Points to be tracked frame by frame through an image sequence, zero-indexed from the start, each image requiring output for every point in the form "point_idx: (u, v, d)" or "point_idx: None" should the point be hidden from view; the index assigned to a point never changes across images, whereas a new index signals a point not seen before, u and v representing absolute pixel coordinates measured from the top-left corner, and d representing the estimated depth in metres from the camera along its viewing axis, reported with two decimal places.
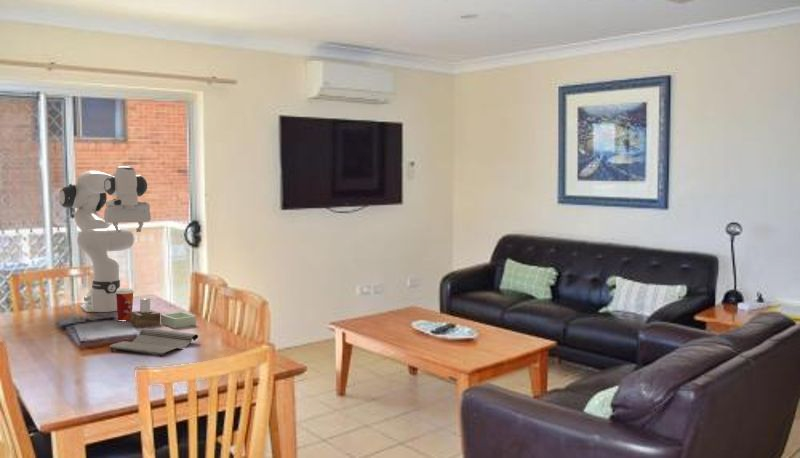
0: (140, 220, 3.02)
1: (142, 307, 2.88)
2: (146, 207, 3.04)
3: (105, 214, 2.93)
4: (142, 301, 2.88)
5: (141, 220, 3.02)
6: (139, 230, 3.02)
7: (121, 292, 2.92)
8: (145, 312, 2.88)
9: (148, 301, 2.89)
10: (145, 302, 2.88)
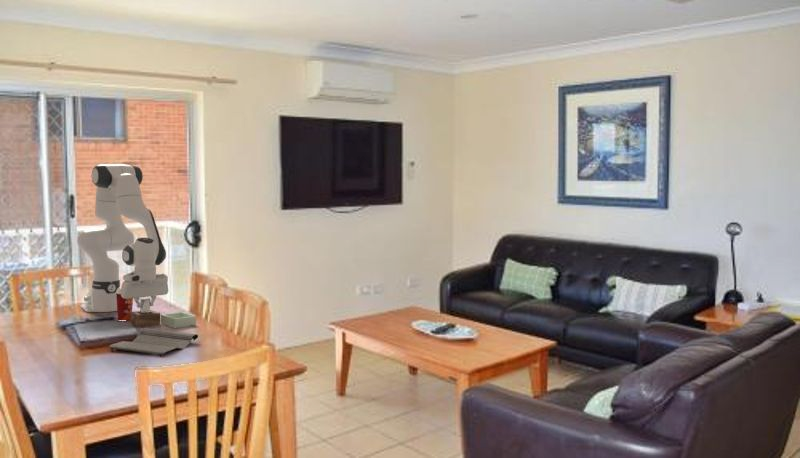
0: (157, 294, 2.92)
1: (142, 307, 2.88)
2: (164, 280, 2.94)
3: (122, 289, 2.83)
4: (142, 301, 2.88)
5: (158, 294, 2.92)
6: (151, 304, 2.91)
7: None
8: (145, 312, 2.88)
9: (148, 301, 2.89)
10: (145, 302, 2.88)
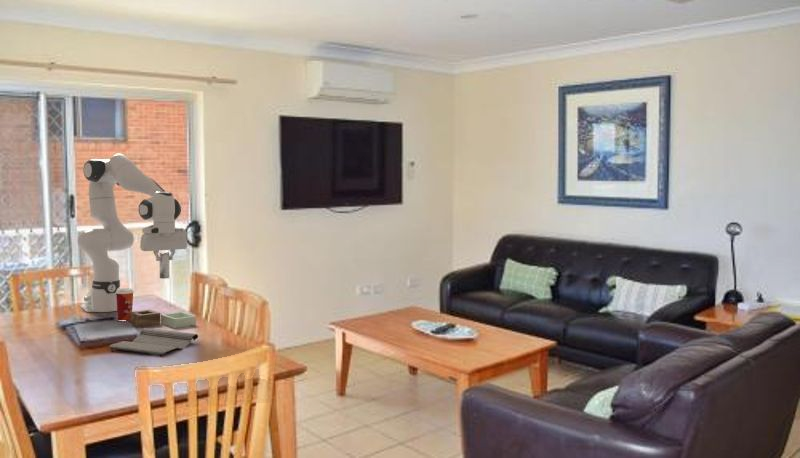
0: (176, 248, 2.91)
1: (161, 260, 2.87)
2: (183, 234, 2.93)
3: (141, 242, 2.82)
4: (161, 254, 2.87)
5: (177, 248, 2.91)
6: (171, 258, 2.90)
7: (121, 292, 2.92)
8: (164, 265, 2.87)
9: (167, 254, 2.88)
10: (164, 255, 2.87)
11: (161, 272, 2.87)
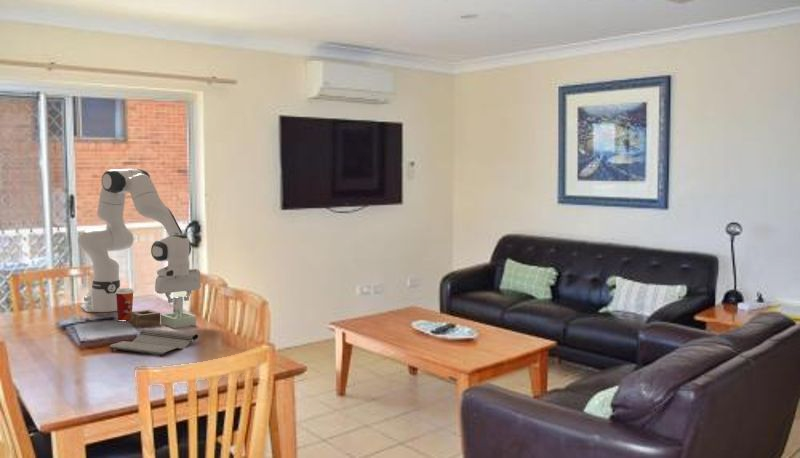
0: (190, 289, 2.93)
1: (175, 305, 2.89)
2: (197, 275, 2.95)
3: (156, 284, 2.84)
4: (175, 299, 2.89)
5: (191, 289, 2.94)
6: (187, 299, 2.93)
7: (121, 292, 2.92)
8: (178, 310, 2.90)
9: (181, 299, 2.90)
10: (178, 300, 2.89)
11: (175, 317, 2.90)
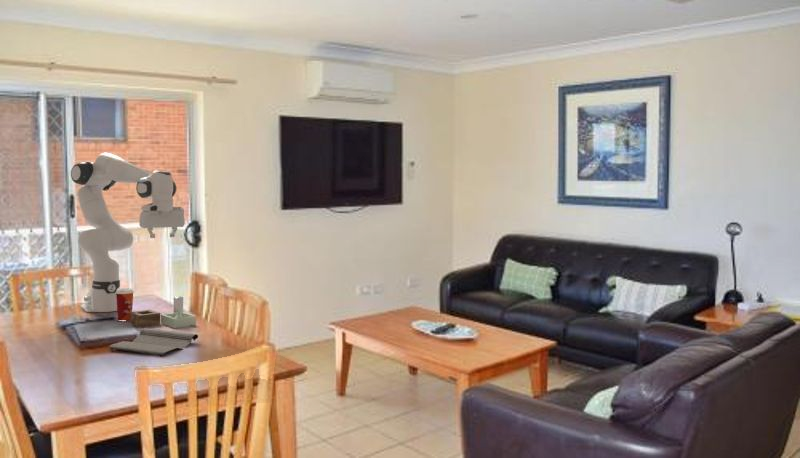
0: (174, 225, 3.01)
1: (175, 305, 2.89)
2: (181, 212, 3.03)
3: (140, 219, 2.91)
4: (176, 299, 2.89)
5: (175, 225, 3.01)
6: (173, 235, 3.02)
7: (121, 292, 2.92)
8: (179, 310, 2.90)
9: (181, 299, 2.90)
10: (178, 300, 2.89)
11: (175, 317, 2.90)
